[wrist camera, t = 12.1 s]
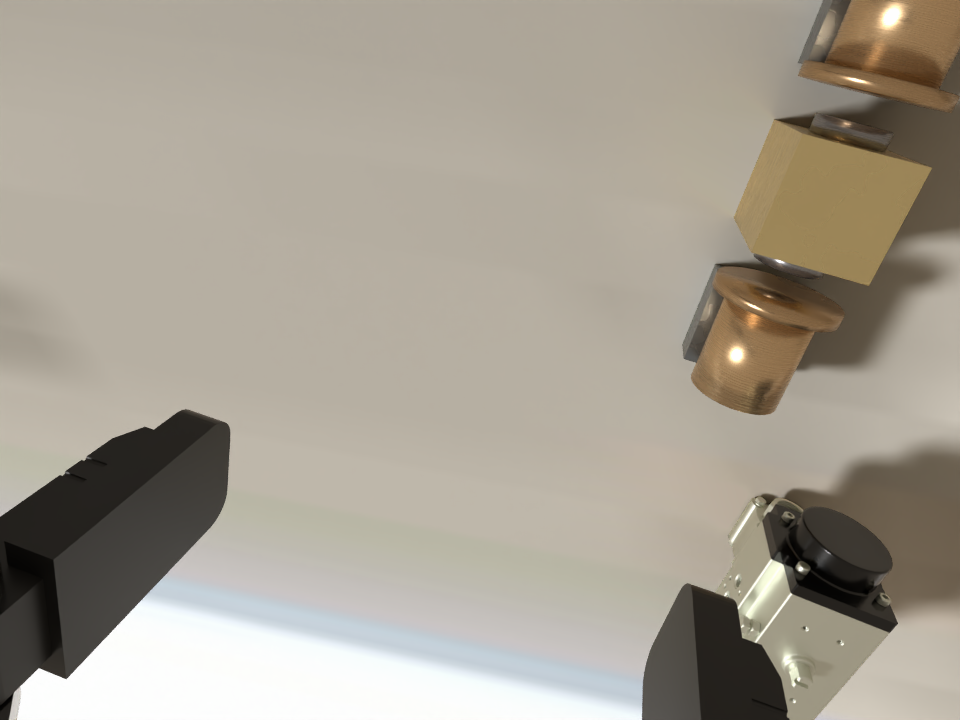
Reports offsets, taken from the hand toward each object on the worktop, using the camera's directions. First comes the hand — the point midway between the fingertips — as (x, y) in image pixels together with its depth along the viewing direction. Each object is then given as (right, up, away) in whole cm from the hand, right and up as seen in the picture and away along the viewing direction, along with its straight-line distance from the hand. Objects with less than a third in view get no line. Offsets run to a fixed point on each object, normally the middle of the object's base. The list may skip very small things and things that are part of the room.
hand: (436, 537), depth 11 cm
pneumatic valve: (+18, -7, +30) cm, 36 cm away
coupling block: (+17, +12, +22) cm, 30 cm away
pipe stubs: (+17, +12, +22) cm, 30 cm away
